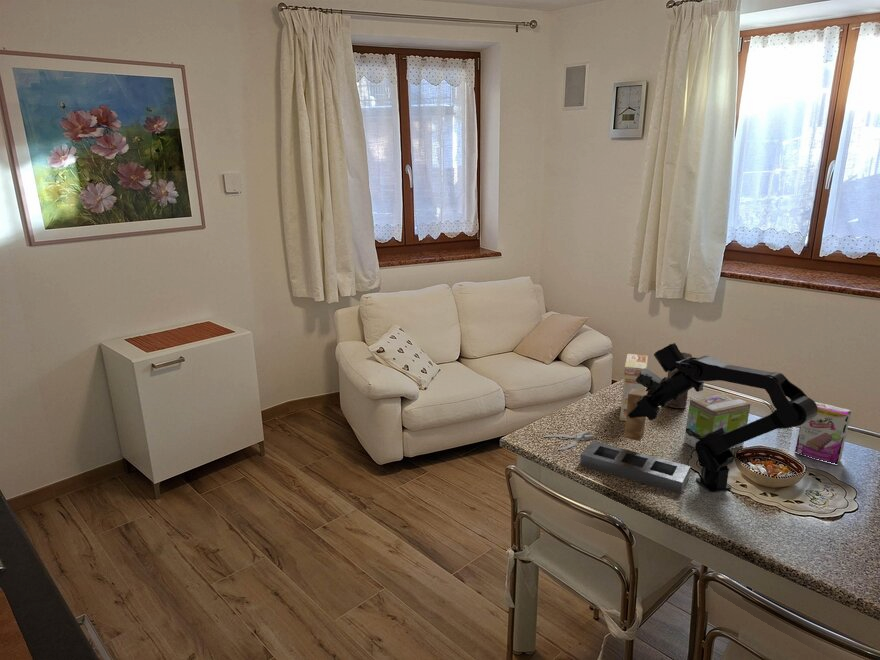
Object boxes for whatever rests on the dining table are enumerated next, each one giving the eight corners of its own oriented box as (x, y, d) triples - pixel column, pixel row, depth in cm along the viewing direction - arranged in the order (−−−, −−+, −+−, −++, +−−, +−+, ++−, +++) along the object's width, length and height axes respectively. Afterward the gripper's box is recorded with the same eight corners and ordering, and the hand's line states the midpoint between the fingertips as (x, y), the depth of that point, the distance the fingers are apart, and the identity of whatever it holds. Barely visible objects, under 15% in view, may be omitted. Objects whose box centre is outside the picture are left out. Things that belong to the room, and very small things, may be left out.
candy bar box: (794, 454, 176) (803, 404, 172) (798, 448, 180) (807, 398, 175) (837, 467, 169) (848, 414, 164) (841, 460, 173) (852, 409, 168)
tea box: (708, 456, 175) (715, 411, 171) (683, 442, 184) (688, 398, 180) (744, 446, 181) (751, 402, 177) (717, 433, 190) (723, 390, 186)
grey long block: (689, 477, 164) (690, 466, 163) (680, 494, 156) (682, 482, 155) (591, 451, 179) (592, 440, 178) (579, 465, 171) (580, 454, 170)
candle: (683, 412, 205) (689, 358, 199) (661, 408, 209) (667, 354, 203) (687, 405, 211) (694, 352, 206) (666, 400, 215) (672, 349, 209)
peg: (643, 435, 175) (648, 391, 171) (639, 441, 171) (644, 396, 167) (628, 431, 177) (632, 388, 173) (624, 437, 173) (628, 393, 169)
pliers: (541, 433, 188) (582, 426, 192) (541, 438, 188) (582, 431, 193) (557, 447, 179) (600, 439, 183) (557, 452, 179) (599, 444, 184)
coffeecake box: (641, 423, 197) (646, 369, 192) (619, 420, 200) (623, 366, 194) (643, 406, 210) (648, 355, 205) (622, 403, 213) (627, 352, 207)
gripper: (663, 353, 173) (622, 381, 181) (647, 373, 157) (604, 402, 166) (688, 383, 171) (646, 410, 180) (675, 406, 156) (629, 434, 165)
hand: (631, 413), depth 173 cm, fingers closed on peg, 4 cm apart
